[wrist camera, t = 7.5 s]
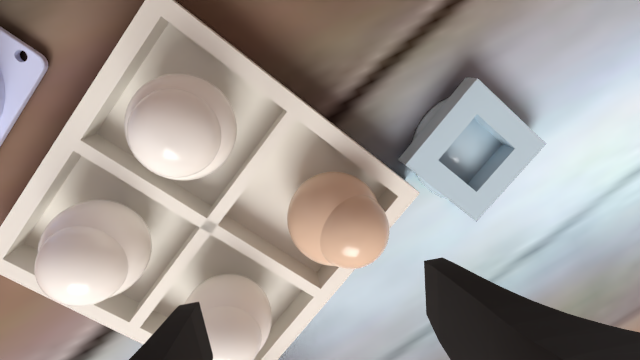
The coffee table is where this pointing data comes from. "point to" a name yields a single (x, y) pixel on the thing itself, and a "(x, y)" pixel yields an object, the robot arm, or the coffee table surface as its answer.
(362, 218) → the brown egg
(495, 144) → the egg cup
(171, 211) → the carton
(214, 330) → the white eggs
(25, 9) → the coffee table surface
